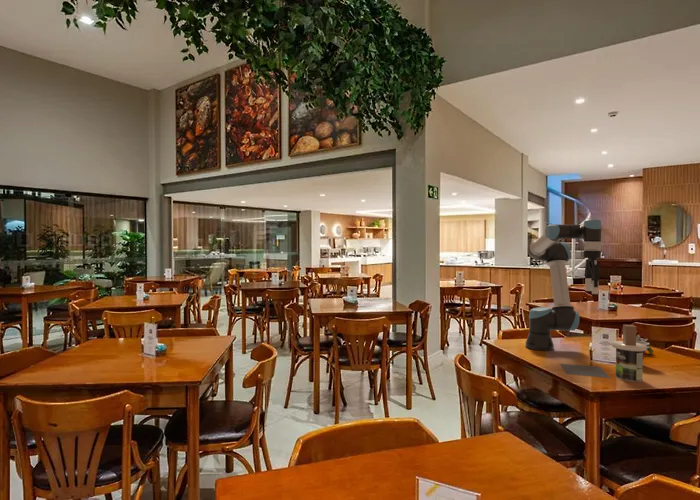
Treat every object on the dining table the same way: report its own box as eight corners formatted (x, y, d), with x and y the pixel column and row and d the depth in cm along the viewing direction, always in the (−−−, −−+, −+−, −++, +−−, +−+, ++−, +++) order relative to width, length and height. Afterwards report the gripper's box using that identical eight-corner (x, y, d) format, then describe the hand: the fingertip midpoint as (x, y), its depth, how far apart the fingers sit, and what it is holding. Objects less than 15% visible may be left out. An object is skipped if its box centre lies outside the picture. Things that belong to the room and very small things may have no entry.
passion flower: (636, 363, 231) (621, 345, 233) (636, 355, 239) (622, 338, 242) (657, 355, 224) (641, 336, 226) (656, 347, 233) (642, 329, 235)
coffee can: (624, 382, 181) (624, 350, 181) (610, 375, 191) (610, 344, 191) (648, 382, 181) (649, 350, 181) (633, 375, 191) (633, 345, 191)
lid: (608, 343, 194) (608, 322, 194) (640, 345, 190) (641, 323, 190) (617, 349, 182) (617, 327, 182) (651, 352, 178) (652, 329, 178)
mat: (559, 364, 208) (559, 363, 208) (599, 367, 203) (599, 366, 203) (566, 374, 191) (566, 373, 191) (610, 379, 186) (610, 377, 186)
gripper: (578, 249, 221) (577, 289, 221) (590, 250, 197) (589, 294, 197) (594, 250, 218) (593, 290, 219) (607, 250, 195) (607, 295, 195)
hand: (591, 292), depth 208 cm, fingers open, 13 cm apart
